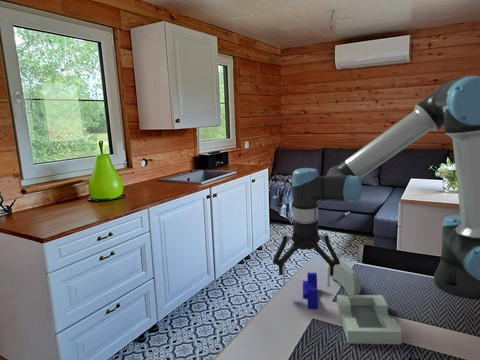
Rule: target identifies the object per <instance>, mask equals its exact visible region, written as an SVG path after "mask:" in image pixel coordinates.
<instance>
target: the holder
mask: <svg viewBox="0 0 480 360" xmlns="http://www.w3.org/2000/svg"><path fill="white" fill-rule="evenodd" d="M336 295H337V296H336V306H337V309H338V314H339V317H340V320H341V325H342V329H343V331H344V334H345V337H346V342H347V344H356V345H357V344H359V345H360V344H361V345H362V344H363V345H365V344H366V345H368V344H369V345H370V344H371V345H402V337H403V336H402V335H403V332H402V330H401V328H400V326H399V323H398V322H397V320H396V318H394V317H391V318H390V316H389V311H388V310H389V306H388V303H387V302H386V300H385V298H384V296H383V295H382V294H372V295H371V294H359V295H348V294H336Z"/></svg>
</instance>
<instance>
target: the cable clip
mask: <svg viewBox="0 0 480 360" xmlns="http://www.w3.org/2000/svg"><path fill="white" fill-rule="evenodd" d="M306 275H307V280H302V298H303V299H307V309H308V310H310V309H311V310H319V299H318V298H319V295H318V290H319V289H318V273H317V272H307V274H306Z"/></svg>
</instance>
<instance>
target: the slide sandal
mask: <svg viewBox="0 0 480 360" xmlns="http://www.w3.org/2000/svg"><path fill="white" fill-rule="evenodd" d="M329 257H330V258H331V260H333V257H332V255H330V256H329ZM338 259H339V262H340V264H339V265H334V274H333V276H330V280H333V281H336V282H337V283H338V284H339V285H340V286H342V288H343V289H344V290H345V292H346V295H361V294H360V293H361V291H362V290H361V289H362V287H361V281H360V278H359V276H358V274H357V273H356V271H355V270H353V269H352V268H351V267H350V266H348V265H347V264H346V263H345V262H344V261H342V259H340V258H339V257H338ZM325 262H326V261H325ZM326 263H327V262H326Z"/></svg>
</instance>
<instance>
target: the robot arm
mask: <svg viewBox="0 0 480 360" xmlns="http://www.w3.org/2000/svg"><path fill="white" fill-rule="evenodd" d="M442 127H444V133H445V135H446V136H448V137H450V138H451V139H452V147H453V148H452V149H453V157H454V166H455V176H456V177H455V178H456V185H457V186H456V187H457V195H458V204H459V214H453V215H447V216H445V217H444V218H443V221H442V225H441V227H442V232H441V233H442V235H441V237H442V238H441V257H440V261H439V263H438V265H437V268H436V270H435V272H434V274H433V283H434V285H435V286H436V287H437V288H439V289H440V290H441V291H443V292H446V293H448V294H451V295H455V296H458V297H464V298H480V75H468V76H464V77H461V78H455V79H451V80H448V81H446V82H444V83H442V84H441V85H440V86H438V87H437V88H436V89H435V90H434V91H433V92H431V93H430V94H429V95H427V96H426V97H425V98H423V99H422V100H421V101H419V102H418V103H417V104H415V105H414V110H413V111H411V113H409V114H407V115H406V116H405V117H404V118H402V119H401V120H399V121H397V122H396V123H395V124H394V125H393V126H390V128H388V129H386V130H385V131H384V132H382V133H381V134H380V135H378V136H377V137H376V138H375V139H373V140H372V141H370V142H369V143H367V144H365V145H364V146H363V147H362V148H360V149H359V150H358V151H356V152H354V153H353V154H352V155H351V156H350V157H348V158H347V159H345V160H344V161H342V162H341V163H340V164H338V165H336V166H333V167H331V168H330V169H329V170H328V171H327V173H326V175H319V172H318V170H317V169H316V168H309V167H303V168H297V169H294V171H292V184H291V190H292V191H291V193H292V195H291V196H292V219H293V220H292V235H291V234H290V235H289V234H287V233H283V234H282V241H281V243H280V244H279V246H278V249H277V250H276V253H274V256H273V258H272V264H273V265H277V266H278V275H279V276H282V286H283V287H286V263H287V262H288V260H289V259H290V258H291V257H292V255H293V254H294V253H295V252H297V251H298V249H299V250H300V251H304V250H307V251H311V250H312V249H314V251H315V252H317V253H318V255H319V256H321V258H322V259H324V260H323V261H325V262H327V263H326V264H325V266H326V269H325V271H326V274H325V275H326V277H325V278H326V286H327V287H328V288H329V287H331V277H330V276H333V274H334V265H339V264H340V262H339V259H340V258H339V256H338V255H337V254H336V251H335V250H334V248H333V246H332V244H331V243H330V237H329V234H328V233H327V232H326V233H323V234H321V235H320V234H319V220H318V219H319V202H335V203H337V202H339V203H340V202H341V203H342V202H343V203H351V202H353V203H354V202H359V201H360V200H361V199H362V181H361V179H362V178H364V177H365V176H367V174H369V173H371V172H372V171H373V170H375V169H376V168H378V167H380V166H381V165H383V164H384V163H385V162H387V161H388V160H389V159H391V158H393V157H394V156H396V155H397V154H398V153H400V152H401V151H403V150H404V149H406V148H407V147H409V146H410V145H412V144H413V143H414V142H416V141H417V140H419V139H420V138H421V137H423V136H425V135H427V134H428V133H429V132H430V131H431V132H432V131H436V132H437V131H438V130H439V129H441V128H442ZM320 240H321V242H322V243H325V246H326V248H327V250H328V251H329V253H330V256H332V257H333V260H331V258H330V256H329V255H328V254H327V253H326V252H325V250H323V248H321V247H320V245H319V244H318V243H319V242H320ZM290 241H292V242H293V243H292V245H291V246H290V247H289V249H288V250H286V252H284V254H283V251H284V250H285V248H286V246H287V243H290ZM282 254H283V255H282ZM281 256H282V257H281ZM338 258H339V259H338Z"/></svg>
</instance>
